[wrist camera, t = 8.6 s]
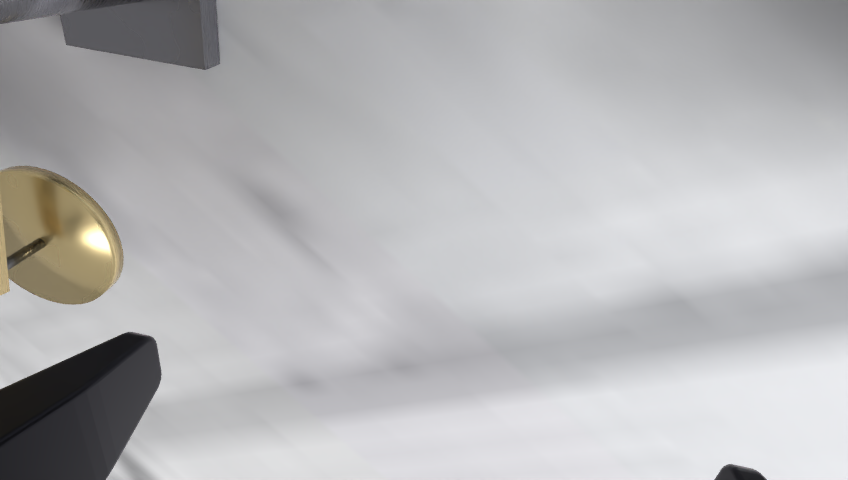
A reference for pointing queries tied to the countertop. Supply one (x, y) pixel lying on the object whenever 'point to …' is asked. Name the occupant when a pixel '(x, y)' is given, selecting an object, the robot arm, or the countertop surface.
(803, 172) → the countertop surface
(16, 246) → the balance
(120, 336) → the robot arm
